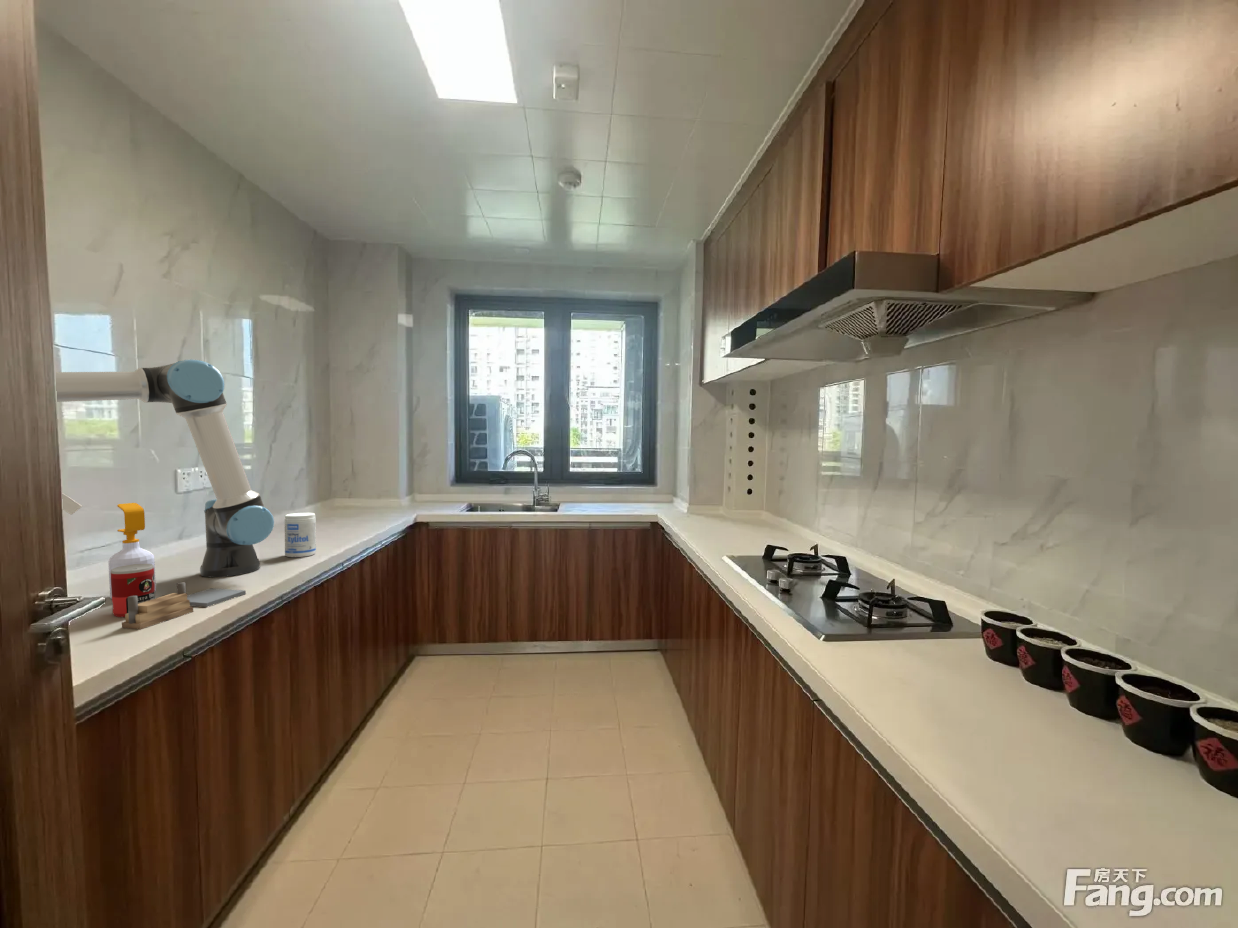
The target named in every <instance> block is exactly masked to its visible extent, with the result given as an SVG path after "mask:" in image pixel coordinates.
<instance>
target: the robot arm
mask: <svg viewBox="0 0 1238 928" xmlns="http://www.w3.org/2000/svg"><path fill="white" fill-rule="evenodd" d="M224 389H225V380H224V377H223V374H222V373H221V372H220V370H219V369H218V368H216V367H215V366H214V365H213V364H211V363H209V362H207V361H204V360H200V359H199V360H198V359H183V360H180V361H177V362H174V363H170V364H167V365H162V366H154V367H138V368H137V369H136V370H135V371H62V372H61V371H58V372H56V391H57V402H56V403H61V402H63V403H64V402H65V403H67V402H89V401H90V402H92V401H93V402H94V401H96V402H97V401H117V400H118V401H121V400H140V401H141V402H144V403H164V404H165V403H168V404H169V403H170V404H172V405H173V408H174V411H175V413H176V415H178V416H180V417H182V418H184V419H185V421H186V423H187V426H188V428H189V431H190V434H191V436H192V439H193V441H194V444H195V447H196V448H197V451H198V455H199V457H200V459H201V462H202V464H203V467H204V470H205V472H206V475H207V477H208V479H209V483H210V485H211V488H212V490H213V492H214V495H215V497H216V499H209V500H207V501H206V502H205V505H204V510H203V511H204V521H205V522H204V524H205V542H206V543H205V544H206V545H205V546H206V547H205V548H206V549H205V553H204V557H203V560H202V563H201V565H200V568H199V572H200V573H199V575H200V576H201V577H204V578H222V577H231V576H238V575H243V574H248V573H252V572H255V571H257V570H259V569H260V568H261V562H260V559H259V558H258V555H257V552H256V549H255V548H254V545H255V544H260V543H261V542H263V541H264V540H267V538H268V537H269V536H270V535H271V533H272V531H274V527H275V518H274V515H273V514H272V513H271V511H270V510H269V509H268V508H266V507H265V506H264V503H263V501H262V497H261V495H260V493H259V492H257V491H255V490H252V487H251V484H250V482H249V479H248V476H247V474H246V471H245V469H244V466H243V463H242V460H241V457H240V455H239V452H238V450H237V447H236V444H235V442H234V439H233V435H232V433H231V431H230V428H229V425H228V422H227V419H226V416H225V414H224V409H225V408H226V407H227V405H228V403H227V401H226V398H225V395H224V393H223V392H224ZM61 492H62V491H61ZM62 499H63V509H62V510H63V511H64V512H66V513H68V514H69V515H74V514H75V513H76V512H77V511H78V510H80V509H81V508H82V507H83V505H82V504H80V503H79V502H77V500H74V499H73V498H71V497H70V496H69V495H67V494H66V493H64V492H62Z"/></svg>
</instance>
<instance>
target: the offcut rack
mask: <svg viewBox="0 0 1238 928" xmlns="http://www.w3.org/2000/svg"><path fill="white" fill-rule="evenodd" d="M187 595H188V594H187V591H186V582H183V581H182V582H178V583H176V592H172V593H168V594H166V595H163V596H162V595H161V596H159V597H155V599H152V600H149V601H146V602H143V603H139V604H138V597H137V596H129V597H128V613H127V614H125V617H124V619H125V620H124V621H122V622H121V628H122V629H132V630H143V629H146V628H148V627H152V626H154V625H157V624H161V623H163V621H164V622H166V620H167V621H170V620H172V619H173V620H174V619H176V618H179V617H181V616H184V614H185V615H188V614H190V613H189V612H191V613H193V612H194V606H190V600H187ZM187 613H188V614H187ZM169 619H170V620H169ZM160 622H161V623H160Z"/></svg>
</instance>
